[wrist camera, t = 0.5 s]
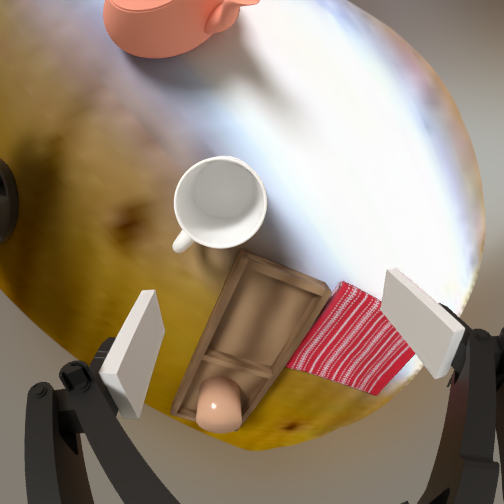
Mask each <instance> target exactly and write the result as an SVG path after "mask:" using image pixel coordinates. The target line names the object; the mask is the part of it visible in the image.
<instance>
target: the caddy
mask: <svg viewBox="0 0 504 504" xmlns="http://www.w3.org/2000/svg"><path fill="white" fill-rule="evenodd" d="M331 293H332V292H331V290H330V289H329V287H328V286H327V284H326V283H325V282H323V281H320V280H318V279H315V278H313V277H310V276H308V275H305V274H303V273H300V272H298V271H295V270H293V269H290V268H288V267H285V266H283V265H280V264H278V263H275V262H273V261H270V260H268V259H265V258H263V257H260V256H258V255H255V254H253V253H250V252H248V251H245V250H243V249H240V251H239V253H238V255H237V258H236V260H235V262H234V264H233V266H232V269H231V271H230V273H229V275H228V277H227V280H226V282H225V284H224V286H223V289H222V291H221V293H220V295H219V297H218V300H217V302H216V304H215V306H214V309H213V311H212V313H211V315H210V318H209V320H208V322H207V324H206V327H205V329H204V331H203V333H202V336H201V338H200V340H199V343H198V345H197V347H196V349H195V352H194V354H193V356H192V358H191V361H190V363H189V365H188V368H187V370H186V372H185V375H184V377H183V379H182V381H181V384H180V386H179V388H178V391H177V393H176V395H175V398H174V400H173V402H172V407H171V412H170V414H171V415H174V416H177V417H181V418H184V419H188V420H191V421H195V422H196V415H197V405H198V396H199V388H200V385H201V383H202V382H203V381H204V380H206V379H208V378H211V377H226V378H229V379H232V380H234V381H235V382H236V383H237V384H238V385H239V387H240V392H241V416H242V423H241V425H242V424H243V423H244V422H245V420H246V419H247V418H248V416H249V415H250V414H251V413H252V411H253V410H254V409H255V407H256V406H257V405H258V403H259V402H260V401H261V399H262V398H263V396H264V395H265V394H266V392H267V391H268V390H269V388H270V387H271V385H272V384H273V383H274V381H275V380H276V378H277V377H278V376H279V374H280V373H281V371H282V370H283V368H284V367H285V365H286V364H287V363H288V361H289V360H290V358H291V357H292V355H293V354H294V352H295V351H296V349H297V348H298V346H299V345H300V343H301V341H302V340H303V338H304V337H305V335H306V334H307V332H308V331H309V329H310V327H311V326H312V324H313V323H314V321H315V319H316V318H317V316H318V315H319V313H320V311H321V310H322V308H323V306H324V305H325V303H326V301H327V300H328V298H329V296H330V295H331ZM240 427H241V426H240ZM240 427H239V428H240ZM239 428H238V429H239ZM238 429H236V430H234V431H238Z"/></svg>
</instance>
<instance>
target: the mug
mask: <svg viewBox="0 0 504 504" xmlns="http://www.w3.org/2000/svg"><path fill="white" fill-rule="evenodd" d="M174 209H175V214H176V218H177V220H178V222H179V224H180V226H181V228H182V229H183V230H182V231H181V233H180V234H179V235H178V237H177V238H176V240H175V241H174V243H173V250H174V251H175V252H176V253H181V252H183V251H185V250H186V249H187V248H188V247H189V246H190V245H191V244H192V243H193V242H194V241H196V242H198V243H199V244H202V245H204V246H207V247H210V248H220V249H223V248H230V247H234V246H237V245H240V244H242V243H244V242H245V241H247V240H248V239H250V238H251V237H252V236H253V235H254V234H255V233H256V232H257V231H258V229H259V228H260V226H261V225H262V223H263V221H264V218H265V215H266V211H267V195H266V190H265V187H264V185H263V183H262V181H261V179H260V178H259V176H258V175H257V173H256V172H255V171H254V170H253V169H252V168H251V167H250V166H249V165H247V164H246V163H245V162H243V161H242V160H240V159H237V158H234V157H230V156H218V157H213V158H209V159H205V160H203V161H200V162H199V163H197V164H195V165H194V166H192V167H191V168H190V169H189V170H188V171H187V172H186V173H185V174H184V175H183V177H182V178H181V180H180V181H179V183H178V186H177V188H176V192H175V196H174Z"/></svg>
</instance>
